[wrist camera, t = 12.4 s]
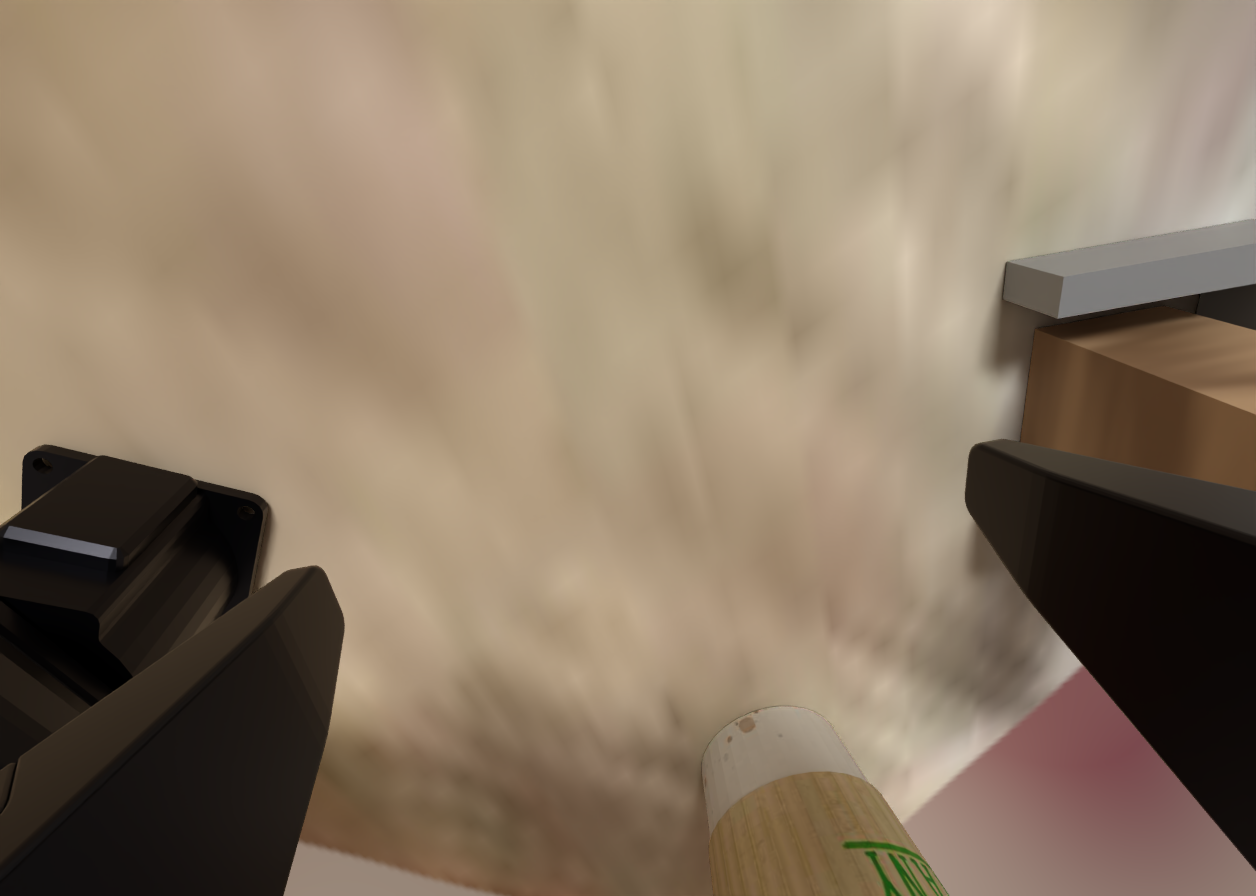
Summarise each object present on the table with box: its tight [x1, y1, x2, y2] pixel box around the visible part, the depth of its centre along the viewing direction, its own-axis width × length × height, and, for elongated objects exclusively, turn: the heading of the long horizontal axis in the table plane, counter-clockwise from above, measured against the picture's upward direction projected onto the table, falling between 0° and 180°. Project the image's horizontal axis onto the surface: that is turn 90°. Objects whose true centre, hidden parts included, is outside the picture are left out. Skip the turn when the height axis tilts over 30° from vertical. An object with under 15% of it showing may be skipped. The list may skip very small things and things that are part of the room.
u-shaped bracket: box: [1003, 219, 1256, 330], centre depth 22 cm, size 8×9×2 cm
